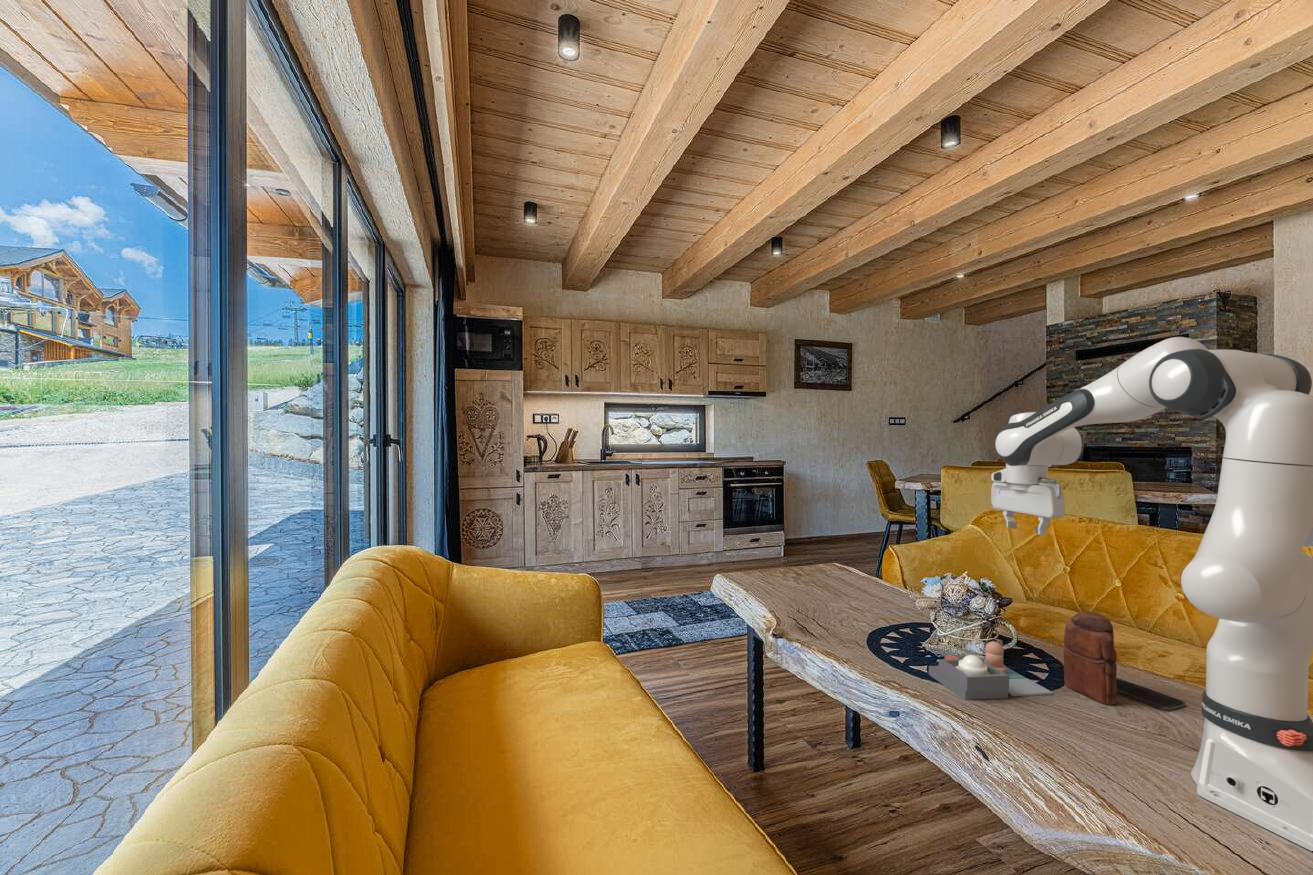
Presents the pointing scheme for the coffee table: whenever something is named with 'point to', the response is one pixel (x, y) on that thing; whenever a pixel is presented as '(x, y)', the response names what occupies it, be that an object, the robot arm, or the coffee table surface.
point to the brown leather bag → (1091, 657)
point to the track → (1024, 685)
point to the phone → (1148, 696)
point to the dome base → (970, 680)
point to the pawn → (995, 655)
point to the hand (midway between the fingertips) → (1025, 531)
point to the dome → (972, 666)
